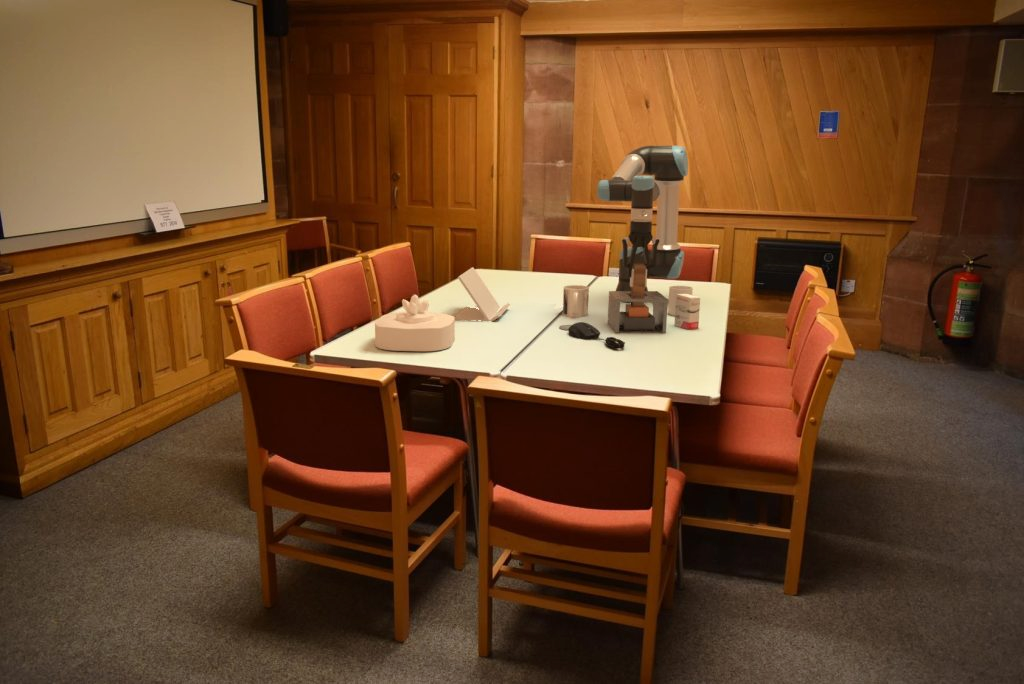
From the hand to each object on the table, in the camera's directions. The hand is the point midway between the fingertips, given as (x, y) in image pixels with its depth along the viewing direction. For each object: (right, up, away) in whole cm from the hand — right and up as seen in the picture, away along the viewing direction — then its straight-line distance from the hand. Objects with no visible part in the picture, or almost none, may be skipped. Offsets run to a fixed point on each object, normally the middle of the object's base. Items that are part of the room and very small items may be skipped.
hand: (638, 286), depth 278 cm
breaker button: (0, -13, +3) cm, 13 cm away
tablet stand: (-57, -10, +25) cm, 63 cm away
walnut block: (0, -7, +2) cm, 7 cm away
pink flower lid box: (-77, -20, -19) cm, 82 cm away
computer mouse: (-17, -20, -15) cm, 30 cm away
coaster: (-24, -15, +2) cm, 28 cm away
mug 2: (+21, -9, +29) cm, 37 cm away
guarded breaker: (0, -15, +4) cm, 15 cm away
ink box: (+19, -15, +7) cm, 25 cm away
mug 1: (-21, -10, +25) cm, 34 cm away
